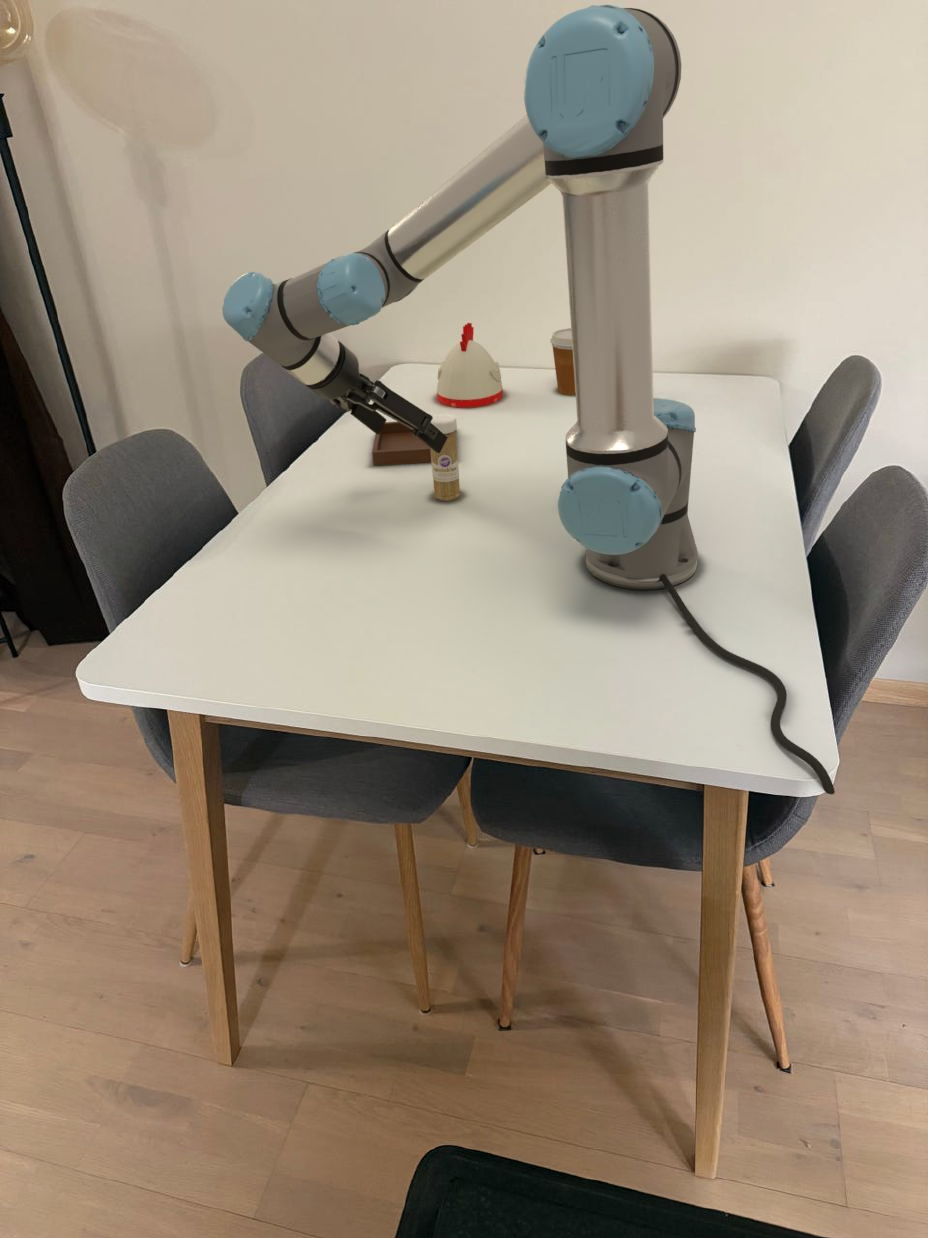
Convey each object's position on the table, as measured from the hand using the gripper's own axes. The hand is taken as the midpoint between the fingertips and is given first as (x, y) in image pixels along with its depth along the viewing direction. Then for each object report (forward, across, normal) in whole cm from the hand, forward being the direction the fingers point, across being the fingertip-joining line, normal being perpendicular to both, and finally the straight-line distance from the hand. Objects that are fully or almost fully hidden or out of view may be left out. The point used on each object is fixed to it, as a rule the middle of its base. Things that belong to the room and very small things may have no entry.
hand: (410, 435), depth 139 cm
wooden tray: (+22, +20, -4) cm, 30 cm away
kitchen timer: (+42, +32, -24) cm, 58 cm away
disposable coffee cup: (+53, +16, -35) cm, 65 cm away
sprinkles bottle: (+14, 0, +4) cm, 14 cm away
